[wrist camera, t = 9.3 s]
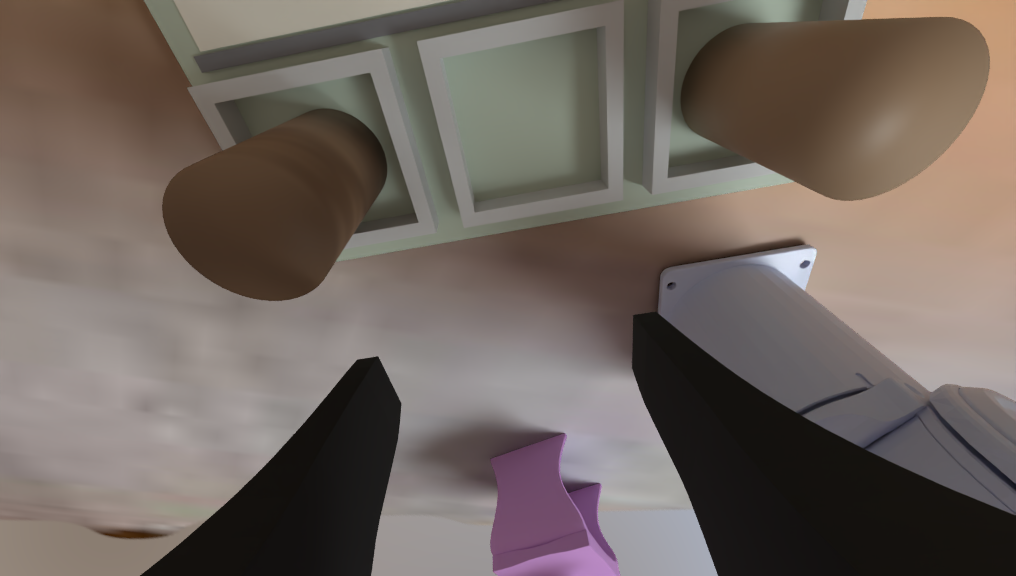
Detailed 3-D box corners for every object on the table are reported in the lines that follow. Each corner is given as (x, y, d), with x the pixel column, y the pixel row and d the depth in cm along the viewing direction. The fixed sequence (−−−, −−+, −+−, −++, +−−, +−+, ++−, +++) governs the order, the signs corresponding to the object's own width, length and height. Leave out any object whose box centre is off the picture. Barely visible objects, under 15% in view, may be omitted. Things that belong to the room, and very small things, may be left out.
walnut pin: (400, 198, 17) (356, 286, 11) (313, 215, 17) (224, 311, 11) (364, 98, 14) (285, 143, 9) (265, 120, 15) (123, 178, 9)
